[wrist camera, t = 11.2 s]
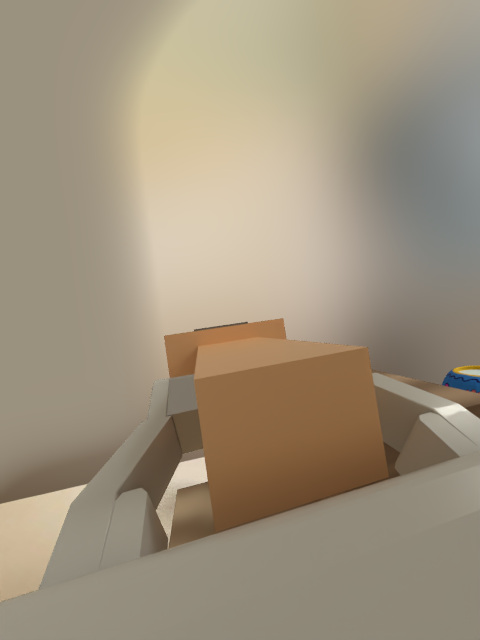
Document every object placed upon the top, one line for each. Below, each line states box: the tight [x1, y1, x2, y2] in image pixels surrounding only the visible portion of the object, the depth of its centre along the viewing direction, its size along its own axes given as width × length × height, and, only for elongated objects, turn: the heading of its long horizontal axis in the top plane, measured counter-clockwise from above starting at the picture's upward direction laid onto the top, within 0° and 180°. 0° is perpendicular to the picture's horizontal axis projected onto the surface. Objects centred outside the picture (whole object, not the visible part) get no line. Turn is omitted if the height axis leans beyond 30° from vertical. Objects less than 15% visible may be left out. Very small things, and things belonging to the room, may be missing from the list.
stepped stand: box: [169, 370, 480, 548], centre depth 22 cm, size 14×28×26 cm, turn 100°
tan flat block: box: [164, 319, 389, 532], centre depth 14 cm, size 18×8×4 cm, turn 10°
